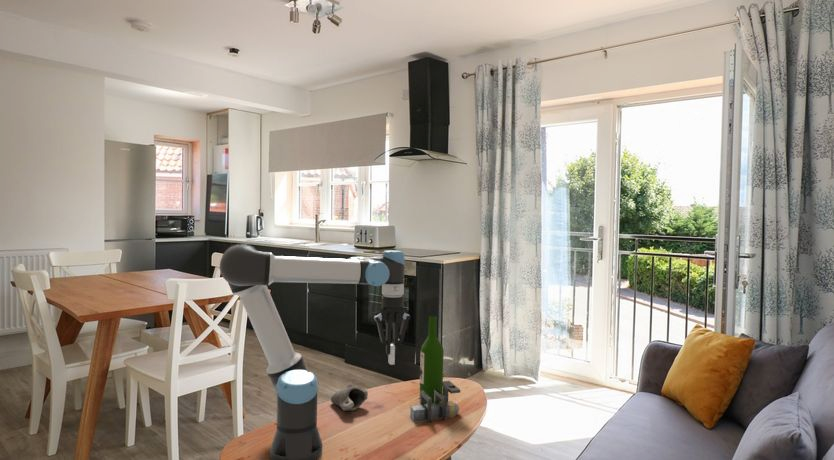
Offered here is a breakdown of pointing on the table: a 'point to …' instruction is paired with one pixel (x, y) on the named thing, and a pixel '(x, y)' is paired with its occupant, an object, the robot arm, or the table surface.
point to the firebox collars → (446, 387)
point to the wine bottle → (431, 362)
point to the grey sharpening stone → (433, 411)
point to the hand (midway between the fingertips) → (391, 363)
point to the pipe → (349, 397)
